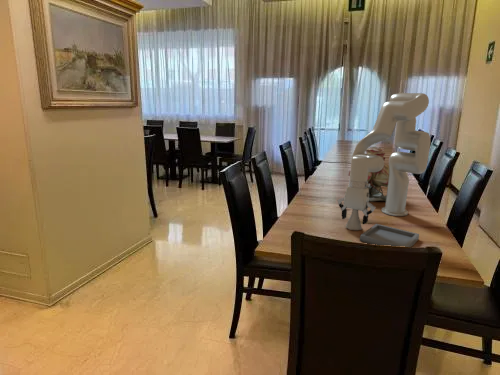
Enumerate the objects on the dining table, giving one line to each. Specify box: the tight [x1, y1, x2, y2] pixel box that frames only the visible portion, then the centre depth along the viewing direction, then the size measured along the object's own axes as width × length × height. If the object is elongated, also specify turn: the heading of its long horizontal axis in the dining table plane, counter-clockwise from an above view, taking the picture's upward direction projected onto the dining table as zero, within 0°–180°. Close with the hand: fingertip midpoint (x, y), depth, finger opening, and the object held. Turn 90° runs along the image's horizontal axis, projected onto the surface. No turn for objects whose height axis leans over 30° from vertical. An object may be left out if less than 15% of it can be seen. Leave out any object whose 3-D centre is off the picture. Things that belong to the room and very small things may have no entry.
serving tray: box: [359, 223, 420, 248], centre depth 139 cm, size 18×18×2 cm
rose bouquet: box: [347, 146, 389, 203], centre depth 200 cm, size 26×29×30 cm
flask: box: [345, 209, 363, 231], centre depth 152 cm, size 7×7×10 cm
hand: (354, 220), depth 152 cm, fingers open, 9 cm apart
